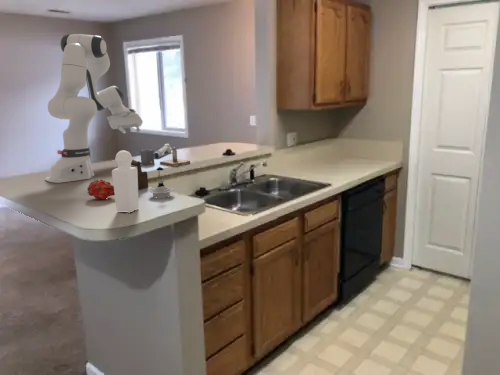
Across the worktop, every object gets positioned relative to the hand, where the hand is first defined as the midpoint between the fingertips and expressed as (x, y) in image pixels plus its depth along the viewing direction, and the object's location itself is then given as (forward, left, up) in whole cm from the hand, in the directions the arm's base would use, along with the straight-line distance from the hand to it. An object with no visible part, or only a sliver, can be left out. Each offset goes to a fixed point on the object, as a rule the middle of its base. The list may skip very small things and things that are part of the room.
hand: (132, 132), depth 252 cm
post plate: (+10, -25, -17) cm, 32 cm away
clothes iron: (-38, -54, -18) cm, 69 cm away
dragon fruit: (-58, -62, -18) cm, 87 cm away
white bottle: (-62, -85, -18) cm, 107 cm away
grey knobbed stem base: (-41, -78, -18) cm, 90 cm away
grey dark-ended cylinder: (+26, +6, -18) cm, 32 cm away
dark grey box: (0, -13, -17) cm, 22 cm away
